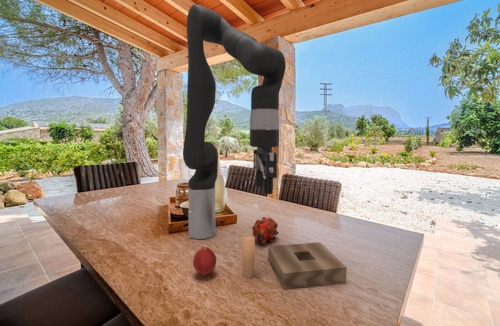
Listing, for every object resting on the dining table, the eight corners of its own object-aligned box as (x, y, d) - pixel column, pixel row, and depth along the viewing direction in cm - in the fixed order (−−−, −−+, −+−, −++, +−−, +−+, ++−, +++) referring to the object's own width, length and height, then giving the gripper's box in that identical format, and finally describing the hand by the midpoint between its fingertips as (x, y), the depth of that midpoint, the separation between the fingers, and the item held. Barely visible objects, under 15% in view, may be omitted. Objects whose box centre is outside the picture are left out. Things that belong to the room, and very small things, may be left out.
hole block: (283, 289, 56) (283, 273, 56) (268, 259, 70) (268, 246, 70) (345, 282, 59) (346, 267, 59) (319, 254, 73) (320, 242, 72)
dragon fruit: (272, 237, 88) (262, 257, 78) (254, 222, 90) (241, 240, 79) (285, 222, 85) (276, 241, 74) (266, 207, 86) (255, 223, 75)
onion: (195, 269, 65) (194, 240, 64) (216, 268, 65) (216, 239, 64) (191, 282, 59) (191, 250, 58) (215, 281, 59) (215, 250, 58)
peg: (243, 279, 60) (243, 240, 59) (241, 272, 63) (242, 235, 62) (255, 278, 61) (255, 240, 60) (253, 271, 64) (253, 235, 63)
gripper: (244, 128, 68) (244, 185, 70) (256, 127, 54) (256, 197, 56) (270, 129, 70) (269, 184, 72) (288, 127, 56) (286, 196, 58)
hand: (263, 190), depth 64 cm, fingers open, 8 cm apart
